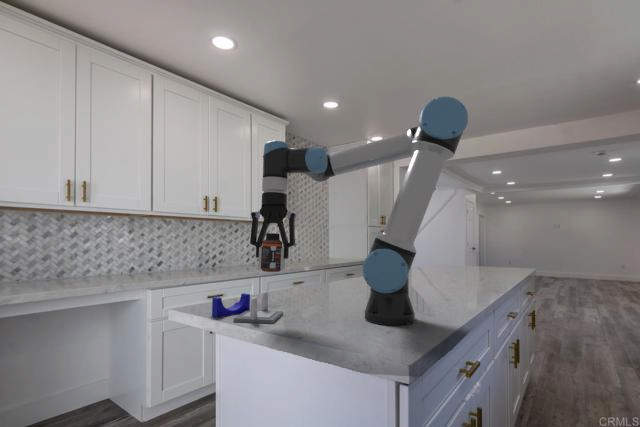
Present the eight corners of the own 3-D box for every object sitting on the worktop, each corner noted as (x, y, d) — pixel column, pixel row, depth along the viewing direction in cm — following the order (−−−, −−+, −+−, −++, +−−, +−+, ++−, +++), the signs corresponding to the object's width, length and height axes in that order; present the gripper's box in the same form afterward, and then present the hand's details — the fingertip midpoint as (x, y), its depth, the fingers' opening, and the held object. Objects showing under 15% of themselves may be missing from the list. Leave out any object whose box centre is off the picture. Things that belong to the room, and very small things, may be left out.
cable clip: (242, 310, 118) (242, 292, 119) (249, 312, 115) (250, 294, 116) (209, 315, 110) (210, 296, 110) (216, 318, 107) (217, 298, 107)
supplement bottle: (278, 272, 99) (279, 233, 100) (258, 271, 100) (259, 232, 101) (283, 270, 105) (285, 233, 106) (265, 269, 106) (266, 233, 107)
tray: (283, 314, 112) (283, 292, 113) (272, 323, 99) (273, 299, 100) (248, 312, 114) (248, 291, 114) (232, 322, 101) (233, 298, 101)
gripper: (307, 194, 107) (304, 269, 106) (248, 193, 109) (245, 267, 108) (303, 191, 100) (300, 271, 98) (240, 190, 102) (236, 269, 100)
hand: (271, 269), depth 103 cm, fingers closed on supplement bottle, 6 cm apart
